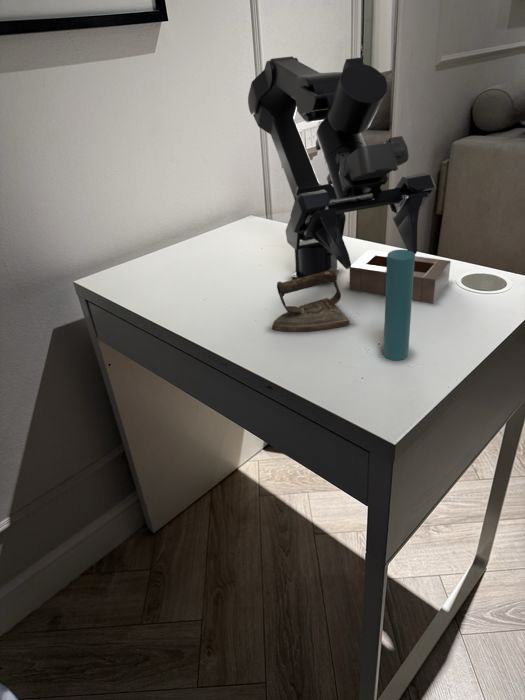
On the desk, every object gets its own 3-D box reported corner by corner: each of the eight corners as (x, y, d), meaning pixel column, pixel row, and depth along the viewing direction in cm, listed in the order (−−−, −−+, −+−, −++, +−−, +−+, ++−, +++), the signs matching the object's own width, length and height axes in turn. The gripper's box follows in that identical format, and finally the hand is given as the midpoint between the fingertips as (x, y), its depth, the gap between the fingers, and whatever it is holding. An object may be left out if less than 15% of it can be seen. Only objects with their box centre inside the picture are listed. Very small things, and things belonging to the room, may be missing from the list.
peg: (379, 357, 68) (383, 257, 61) (388, 345, 71) (393, 248, 63) (403, 362, 67) (409, 260, 59) (411, 350, 69) (418, 251, 62)
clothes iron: (355, 326, 77) (342, 271, 70) (285, 357, 76) (266, 304, 70) (335, 303, 82) (322, 250, 76) (271, 331, 82) (252, 280, 75)
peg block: (349, 289, 87) (349, 266, 85) (368, 271, 92) (368, 249, 90) (433, 303, 80) (435, 279, 78) (448, 283, 85) (450, 260, 83)
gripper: (292, 125, 61) (330, 245, 57) (434, 105, 64) (479, 216, 61) (276, 180, 71) (308, 284, 68) (399, 160, 75) (435, 258, 71)
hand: (381, 260), depth 67 cm, fingers open, 9 cm apart
